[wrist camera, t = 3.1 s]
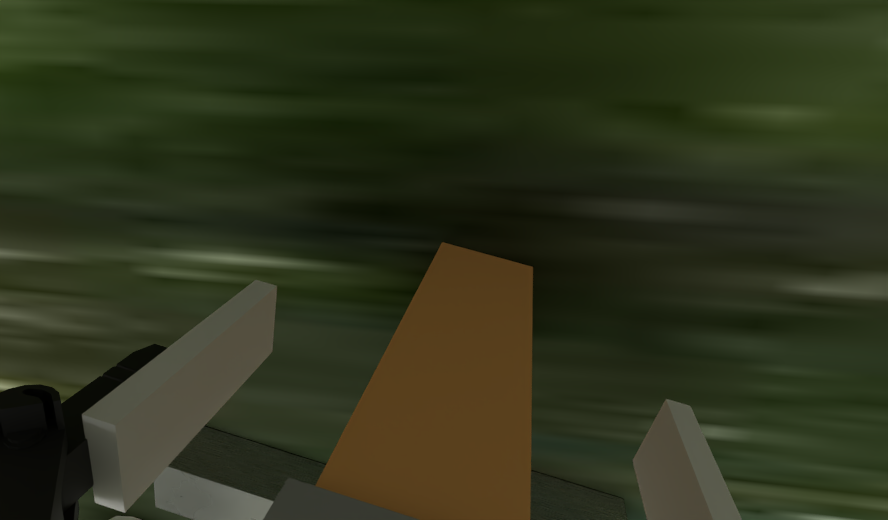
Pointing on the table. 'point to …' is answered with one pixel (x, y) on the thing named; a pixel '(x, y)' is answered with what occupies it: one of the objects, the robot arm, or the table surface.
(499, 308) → the wedge pin
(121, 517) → the foam cup
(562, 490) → the grey angular stepped piece
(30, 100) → the table surface
